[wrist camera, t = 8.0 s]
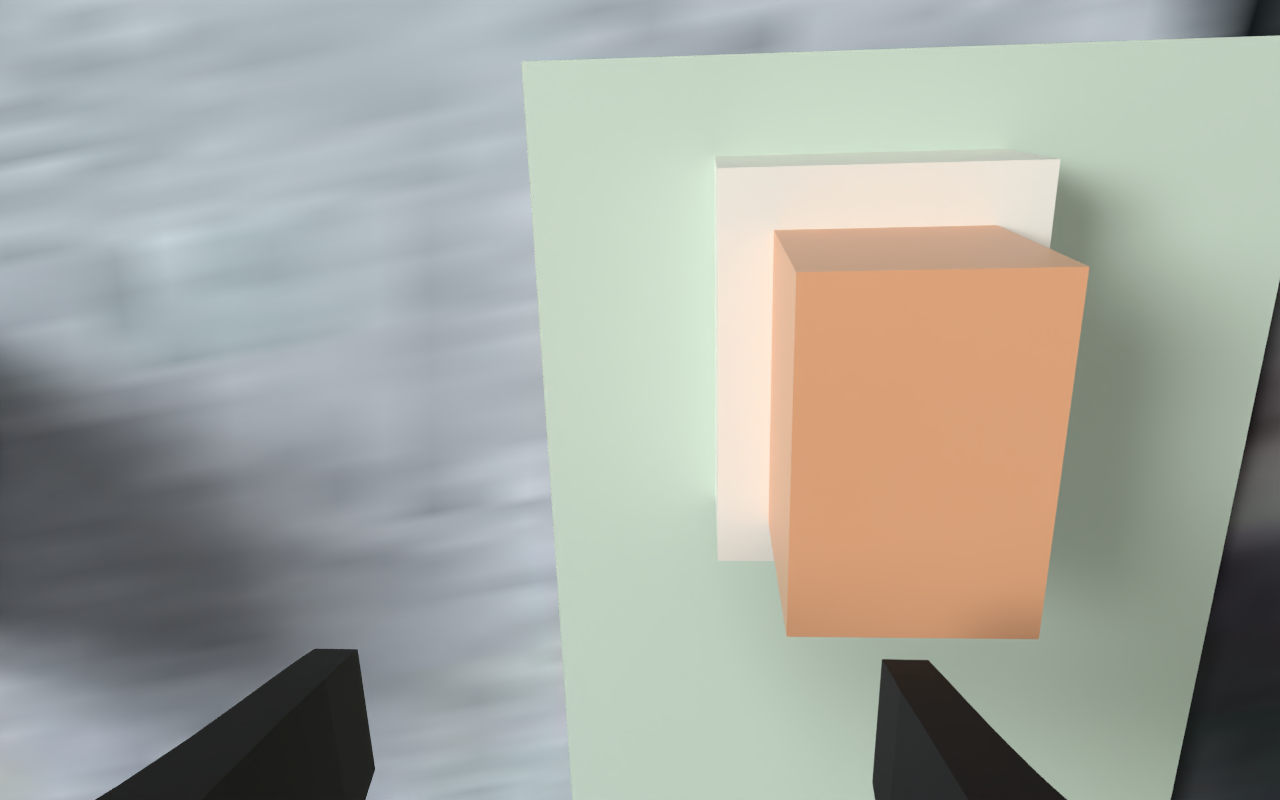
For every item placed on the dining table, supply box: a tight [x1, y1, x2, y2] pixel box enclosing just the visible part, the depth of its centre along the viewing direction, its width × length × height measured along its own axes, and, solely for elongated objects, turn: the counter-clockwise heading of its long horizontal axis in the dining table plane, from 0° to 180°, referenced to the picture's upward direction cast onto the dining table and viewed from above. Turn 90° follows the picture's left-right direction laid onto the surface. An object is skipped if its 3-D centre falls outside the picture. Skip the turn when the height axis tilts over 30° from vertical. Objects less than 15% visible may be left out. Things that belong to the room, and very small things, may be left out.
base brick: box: [715, 149, 1061, 561], centre depth 18 cm, size 8×6×3 cm
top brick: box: [768, 225, 1089, 639], centre depth 15 cm, size 6×4×4 cm, turn 2°
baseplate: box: [521, 36, 1280, 800], centre depth 22 cm, size 22×16×1 cm
